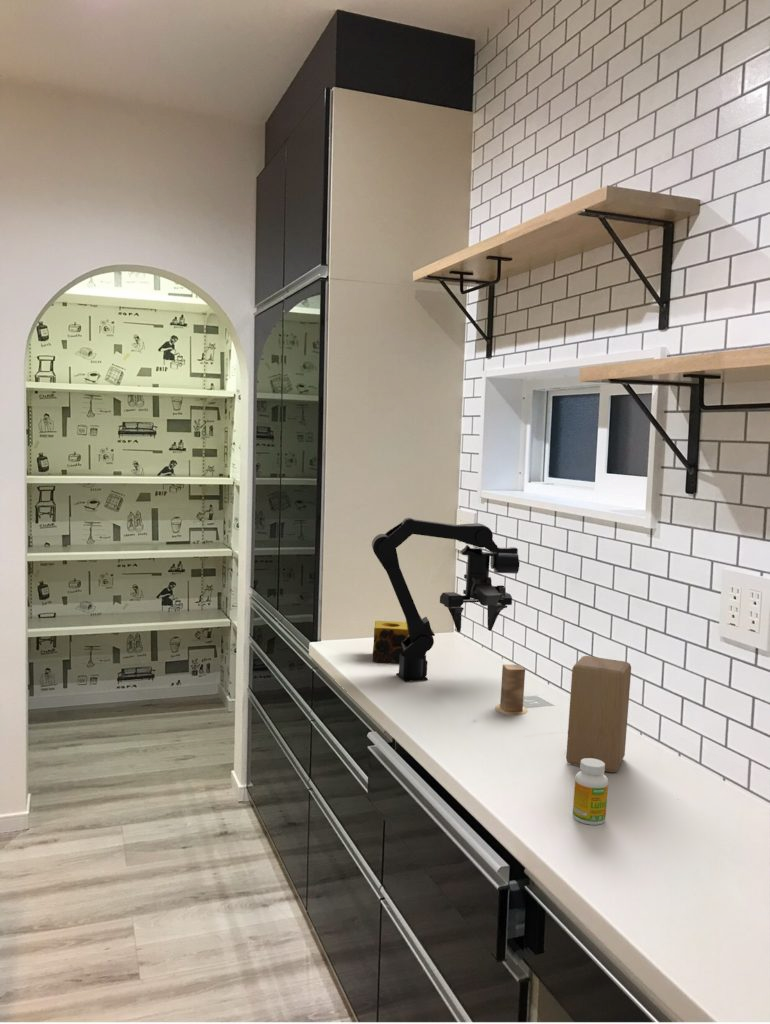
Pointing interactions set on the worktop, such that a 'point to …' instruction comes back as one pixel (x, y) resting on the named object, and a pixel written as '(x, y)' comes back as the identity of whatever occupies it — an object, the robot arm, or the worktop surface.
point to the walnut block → (512, 688)
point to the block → (598, 711)
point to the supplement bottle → (590, 792)
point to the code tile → (535, 702)
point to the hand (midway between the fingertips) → (474, 631)
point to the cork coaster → (510, 712)
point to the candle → (388, 641)
